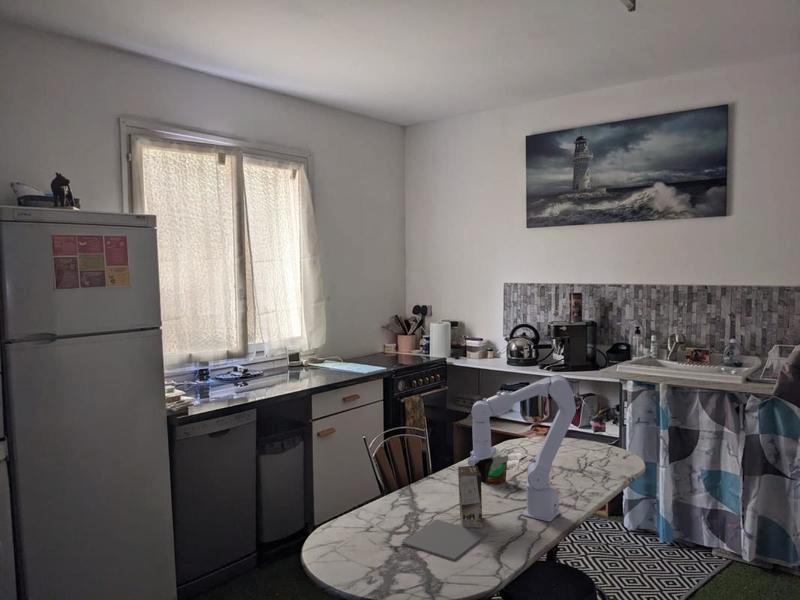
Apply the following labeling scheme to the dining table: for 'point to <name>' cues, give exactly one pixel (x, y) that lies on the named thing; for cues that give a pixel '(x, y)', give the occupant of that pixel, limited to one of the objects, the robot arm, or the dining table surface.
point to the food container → (498, 470)
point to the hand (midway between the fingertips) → (483, 481)
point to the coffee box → (470, 496)
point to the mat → (445, 539)
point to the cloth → (514, 456)
